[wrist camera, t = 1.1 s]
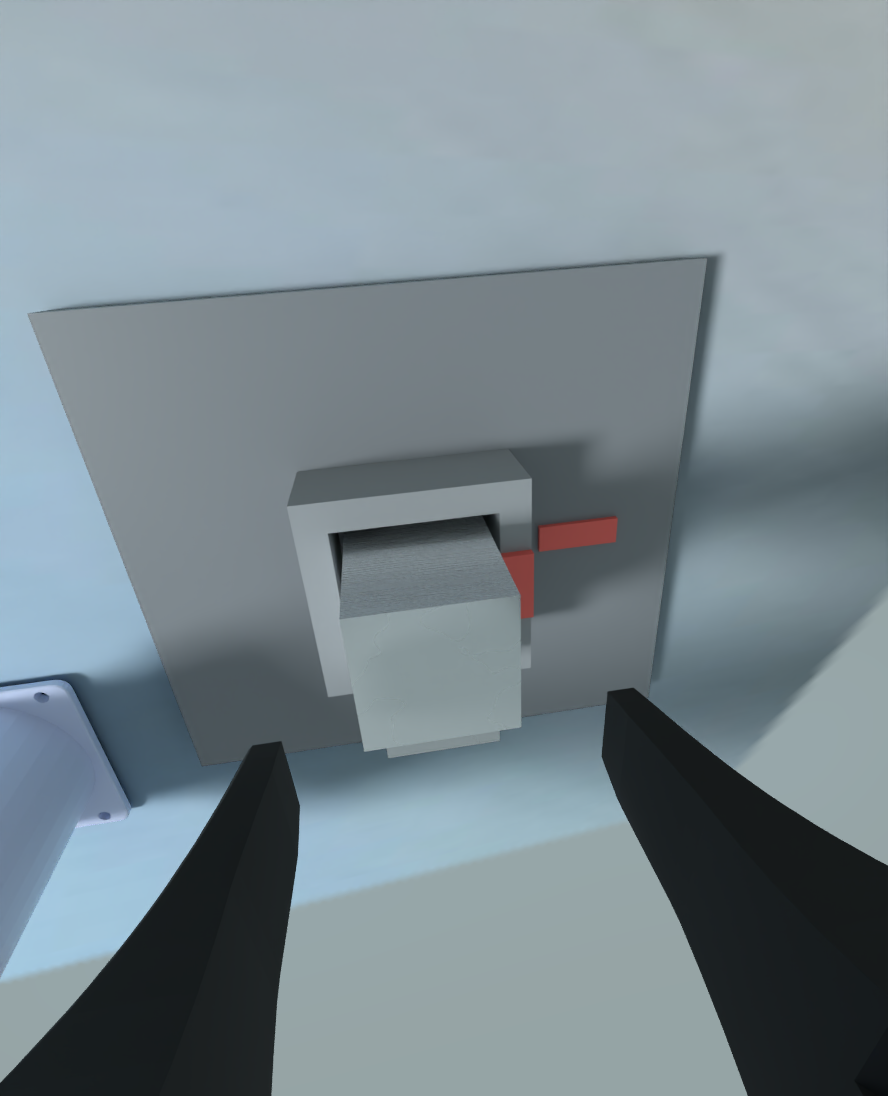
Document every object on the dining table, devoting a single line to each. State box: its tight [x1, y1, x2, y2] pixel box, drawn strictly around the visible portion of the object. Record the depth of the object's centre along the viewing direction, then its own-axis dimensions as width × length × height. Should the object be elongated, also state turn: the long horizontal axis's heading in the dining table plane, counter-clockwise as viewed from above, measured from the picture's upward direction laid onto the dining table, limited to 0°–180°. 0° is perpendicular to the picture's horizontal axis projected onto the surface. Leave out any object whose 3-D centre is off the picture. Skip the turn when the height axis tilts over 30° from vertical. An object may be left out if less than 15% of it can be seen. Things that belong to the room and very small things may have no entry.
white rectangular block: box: [339, 515, 521, 758], centre depth 18 cm, size 5×5×7 cm
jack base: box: [28, 258, 707, 766], centre depth 20 cm, size 20×18×4 cm
